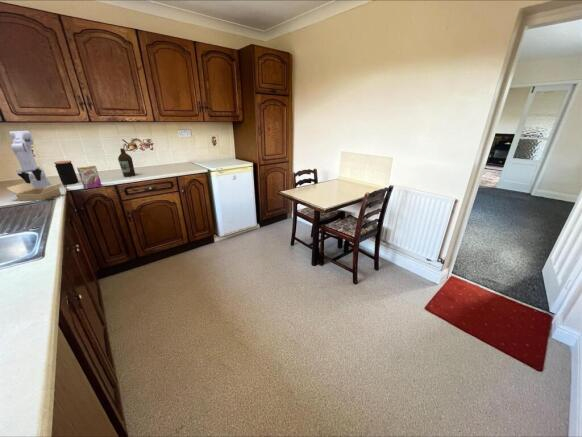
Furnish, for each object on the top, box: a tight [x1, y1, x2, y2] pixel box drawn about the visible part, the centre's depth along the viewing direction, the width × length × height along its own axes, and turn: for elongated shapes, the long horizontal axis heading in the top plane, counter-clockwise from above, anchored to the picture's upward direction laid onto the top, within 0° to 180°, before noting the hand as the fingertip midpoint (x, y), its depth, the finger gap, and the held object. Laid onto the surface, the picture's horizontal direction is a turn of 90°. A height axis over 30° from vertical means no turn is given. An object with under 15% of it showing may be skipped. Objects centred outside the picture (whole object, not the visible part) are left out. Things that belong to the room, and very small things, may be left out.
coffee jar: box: [53, 160, 79, 186], centre depth 200 cm, size 11×11×18 cm
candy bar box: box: [76, 164, 103, 190], centre depth 188 cm, size 11×5×16 cm, turn 141°
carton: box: [15, 187, 62, 202], centre depth 167 cm, size 14×16×4 cm
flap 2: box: [42, 181, 63, 193], centre depth 166 cm, size 13×6×1 cm
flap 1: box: [6, 182, 35, 195], centre depth 165 cm, size 13×6×1 cm
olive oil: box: [117, 147, 136, 178], centre depth 222 cm, size 11×11×25 cm
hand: (34, 181), depth 166 cm, fingers open, 7 cm apart
